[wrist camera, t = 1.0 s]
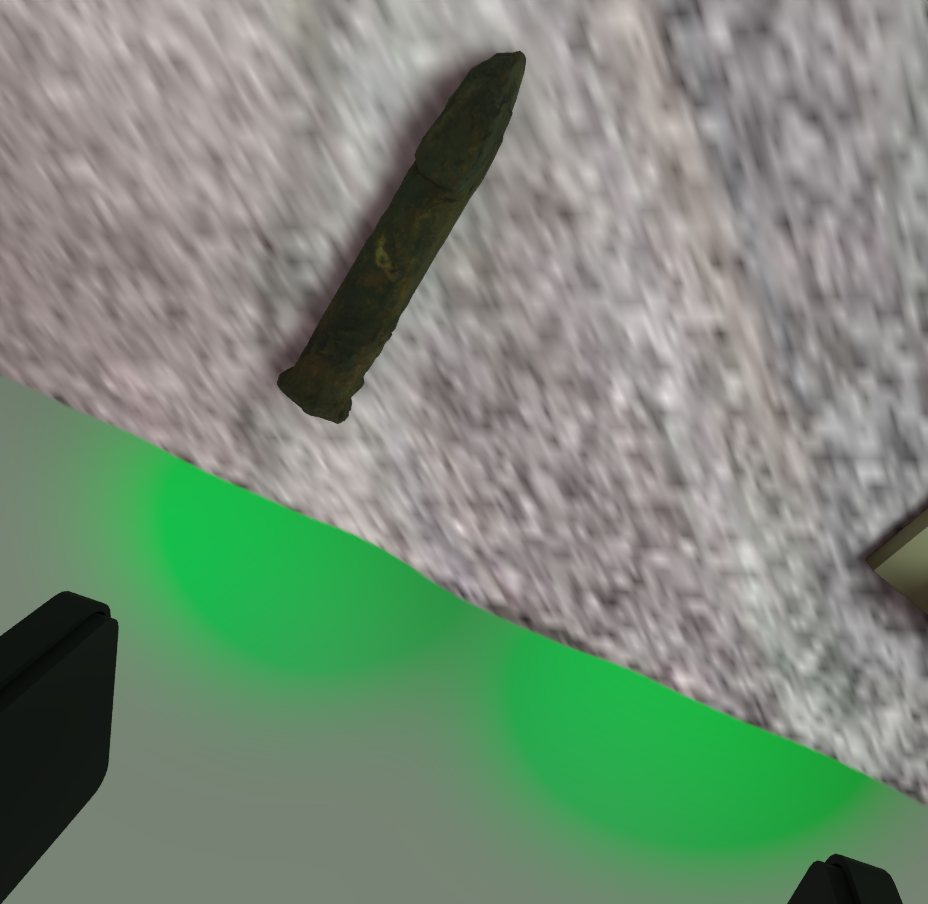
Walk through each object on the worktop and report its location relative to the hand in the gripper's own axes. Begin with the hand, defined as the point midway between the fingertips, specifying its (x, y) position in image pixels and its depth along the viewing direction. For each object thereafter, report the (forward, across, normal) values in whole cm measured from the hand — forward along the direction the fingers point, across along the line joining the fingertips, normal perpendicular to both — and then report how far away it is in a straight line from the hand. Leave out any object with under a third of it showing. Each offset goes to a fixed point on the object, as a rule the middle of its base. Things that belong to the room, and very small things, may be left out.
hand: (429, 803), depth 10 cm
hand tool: (+30, +9, -3) cm, 31 cm away
